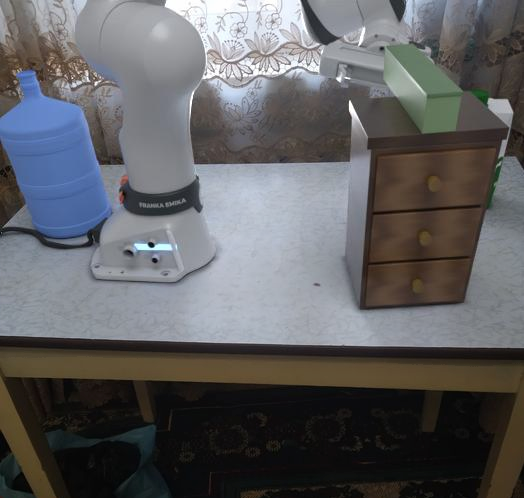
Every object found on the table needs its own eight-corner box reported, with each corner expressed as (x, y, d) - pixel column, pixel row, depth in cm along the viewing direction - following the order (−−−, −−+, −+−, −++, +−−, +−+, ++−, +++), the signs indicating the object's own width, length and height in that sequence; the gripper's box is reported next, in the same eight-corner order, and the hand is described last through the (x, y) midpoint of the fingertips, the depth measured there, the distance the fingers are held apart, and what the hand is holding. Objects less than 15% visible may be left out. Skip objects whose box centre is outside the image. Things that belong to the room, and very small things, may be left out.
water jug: (119, 228, 105) (77, 75, 86) (38, 247, 101) (-23, 92, 83) (106, 197, 116) (66, 56, 97) (33, 214, 112) (-23, 70, 94)
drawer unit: (357, 316, 79) (370, 143, 62) (342, 257, 92) (349, 99, 74) (471, 309, 79) (515, 132, 61) (440, 251, 91) (469, 90, 74)
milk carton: (443, 189, 109) (461, 85, 95) (489, 191, 107) (514, 85, 94) (445, 209, 102) (465, 100, 89) (494, 211, 100) (522, 100, 87)
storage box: (421, 134, 63) (426, 94, 60) (382, 78, 81) (384, 45, 78) (456, 131, 63) (463, 91, 60) (409, 76, 81) (412, 43, 78)
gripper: (327, 26, 94) (315, 55, 85) (440, 49, 93) (439, 81, 84) (320, 63, 99) (308, 94, 90) (427, 86, 98) (425, 120, 89)
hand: (372, 88), depth 87 cm, fingers open, 8 cm apart
